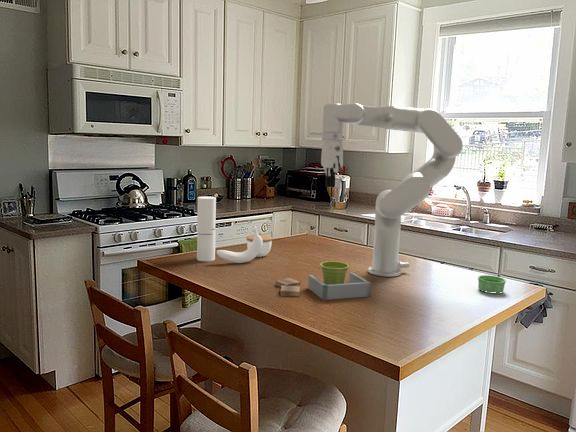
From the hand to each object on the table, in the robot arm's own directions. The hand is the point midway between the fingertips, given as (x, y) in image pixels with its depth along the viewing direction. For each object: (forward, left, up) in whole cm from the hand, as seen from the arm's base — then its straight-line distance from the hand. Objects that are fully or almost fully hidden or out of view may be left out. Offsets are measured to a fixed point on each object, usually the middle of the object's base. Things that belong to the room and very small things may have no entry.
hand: (330, 186), depth 195 cm
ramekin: (-45, +39, -32) cm, 68 cm away
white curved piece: (+30, -16, -32) cm, 47 cm away
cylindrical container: (+42, -24, -32) cm, 58 cm away
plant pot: (+9, +25, -32) cm, 42 cm away
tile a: (+22, +18, -32) cm, 43 cm away
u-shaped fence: (+8, +28, -32) cm, 43 cm away
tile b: (+24, +26, -32) cm, 48 cm away
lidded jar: (+19, -27, -32) cm, 46 cm away
